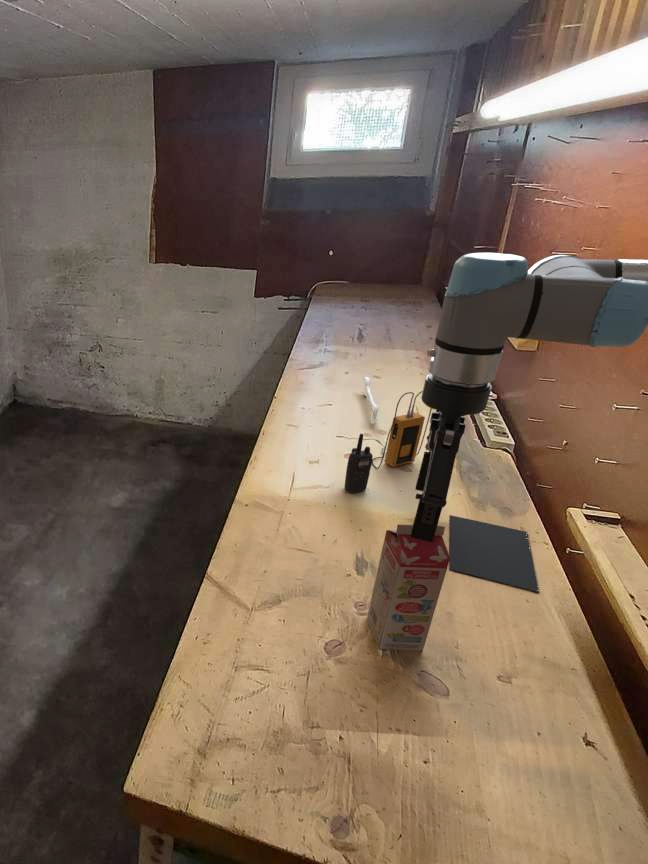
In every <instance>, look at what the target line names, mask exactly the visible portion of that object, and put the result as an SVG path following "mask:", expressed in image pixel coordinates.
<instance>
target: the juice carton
mask: <svg viewBox="0 0 648 864" xmlns="http://www.w3.org/2000/svg"><path fill="white" fill-rule="evenodd" d="M412 527H413V524H399V523H397V526H396V529H395V530H393V529H386V531H385V534H384V540H383V543H382V549H381V552H380V557H379V561H378V566H377V571H376V574H375V580H374V584H373V588H372V593H371V596H370V601H369V605H368V609H367V610H368V611H367V615H366V621H367V623H368V626H369V628H370V630H371V633H372V635H373V637H374V638H373V639H374V640H375V643H376V645H377V647H378V649H379V650H390V651H391V650H392V651H409V652H410V651H412V652H423V651H424V648H425V645H426V641H427V638H428V635H429V632H430V628H431V625H432V621H433V618H434V615H435V612H436V607H437V604H438V600H439V597H440V594H441V590H442V586H443V584H444V581H445V577H446V574H447V570H448V568H449V560H450V557H449V551H448V548H447V545H446V542H445V540H444V537H443V536H444V535H445V530H446V526H444V525H437V528H436V532H435V535H434V539H433V542H428V541H424V540H420V539H416V538H412V537H410V536H411V531H412Z"/></svg>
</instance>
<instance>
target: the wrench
mask: <svg viewBox="0 0 648 864" xmlns="http://www.w3.org/2000/svg"><path fill="white" fill-rule="evenodd" d="M370 387H371V379H370V377H364V379H363V388H362V395H363V396H365V397H366V400H367V402H368V404H369V405H368V406H369V407H370V411H371V419H370V423H371V424H373V425H375V424H376V422H377V418H378V411H379V404H376V403H375V401H374V397H373V395H372V392H371V389H370Z"/></svg>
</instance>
